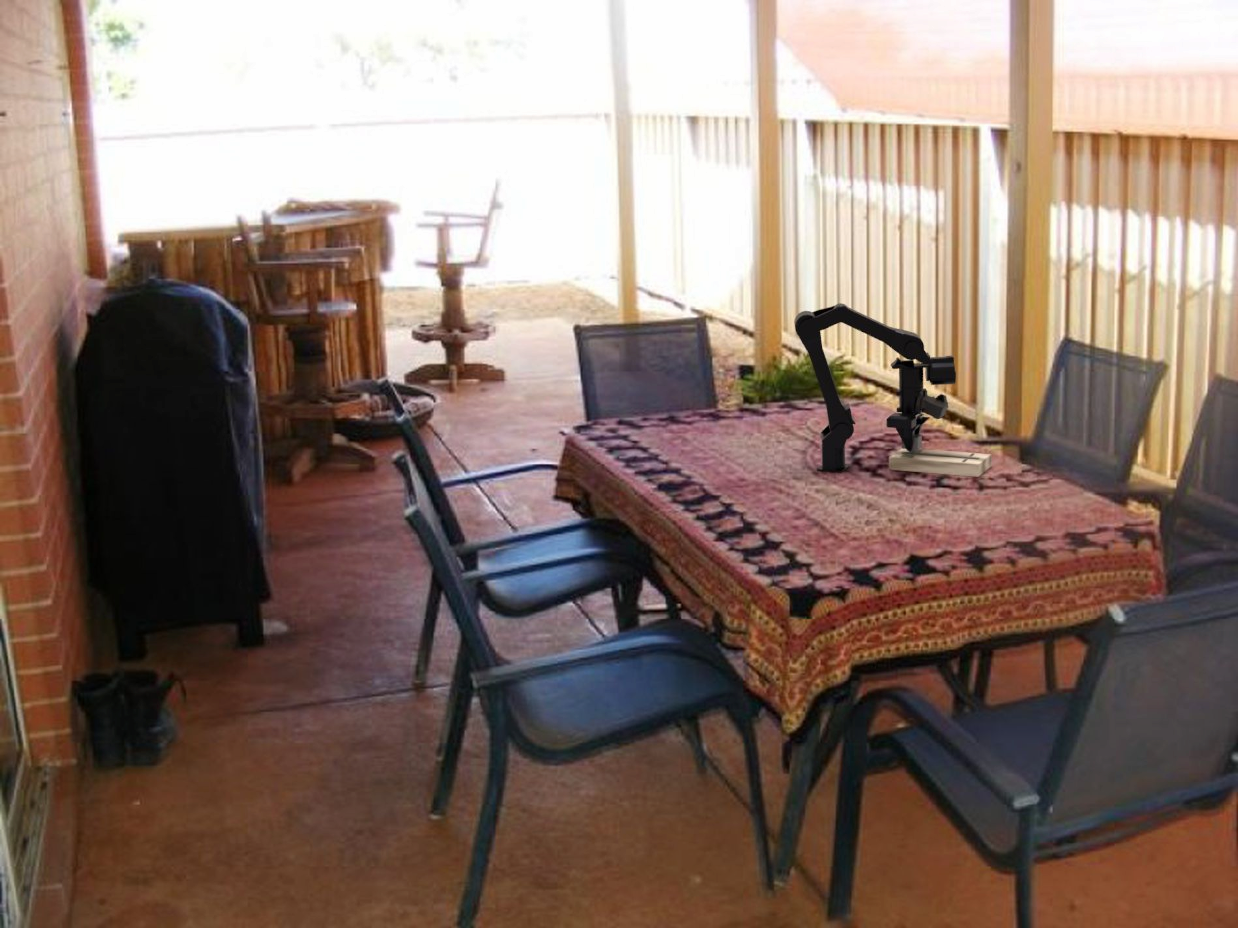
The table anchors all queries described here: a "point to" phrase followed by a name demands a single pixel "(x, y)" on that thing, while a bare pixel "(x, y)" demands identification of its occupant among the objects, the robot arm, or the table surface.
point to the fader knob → (915, 443)
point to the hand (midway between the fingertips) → (911, 449)
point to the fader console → (940, 462)
